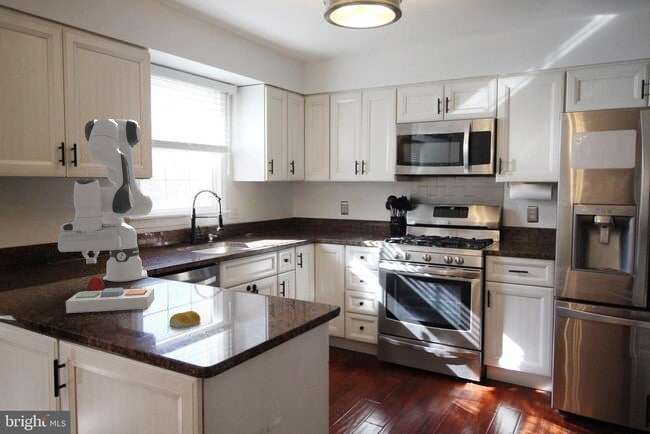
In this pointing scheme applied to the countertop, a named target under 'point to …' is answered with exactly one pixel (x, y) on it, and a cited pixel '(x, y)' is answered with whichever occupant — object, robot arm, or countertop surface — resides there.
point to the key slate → (112, 292)
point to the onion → (95, 284)
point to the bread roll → (184, 319)
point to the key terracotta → (136, 292)
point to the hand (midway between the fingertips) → (91, 263)
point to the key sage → (88, 295)
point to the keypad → (110, 302)
